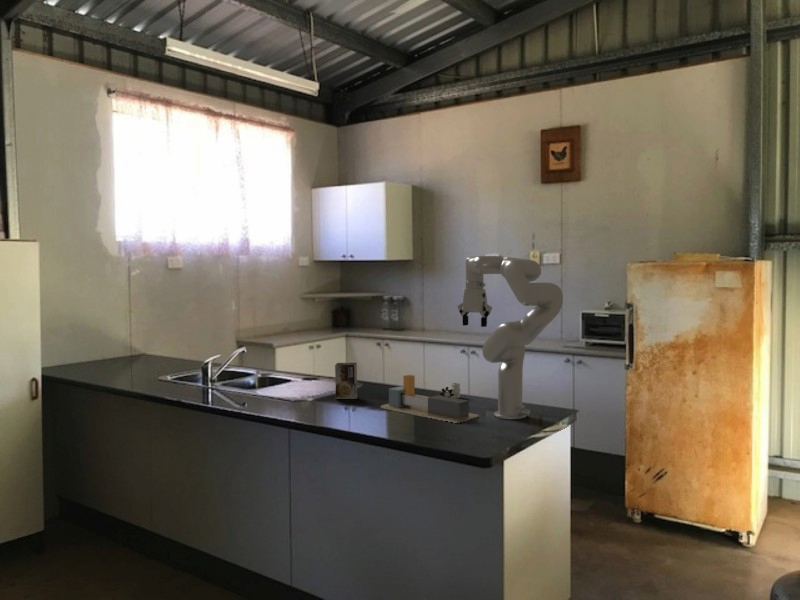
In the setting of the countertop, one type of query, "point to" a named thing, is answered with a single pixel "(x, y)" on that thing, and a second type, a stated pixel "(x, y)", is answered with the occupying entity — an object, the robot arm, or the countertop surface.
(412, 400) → the sliding bar with handle
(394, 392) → the socket block
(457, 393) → the valve
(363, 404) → the countertop surface
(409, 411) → the stand
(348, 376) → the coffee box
